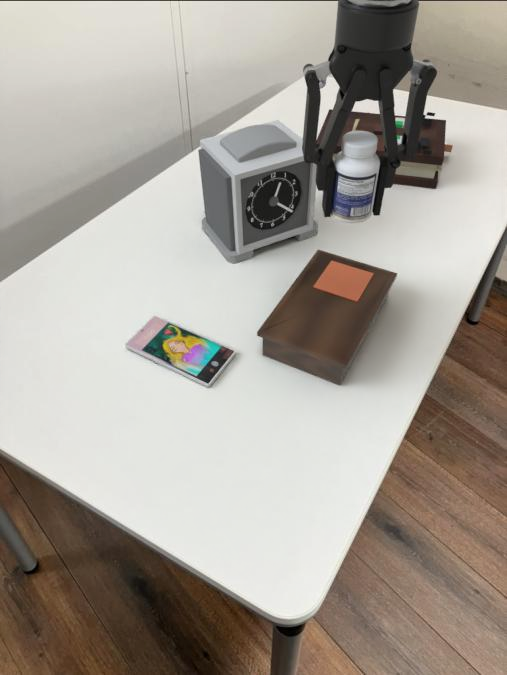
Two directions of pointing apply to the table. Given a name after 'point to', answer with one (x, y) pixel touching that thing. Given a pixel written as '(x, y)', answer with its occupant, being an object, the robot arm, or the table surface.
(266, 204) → the alarm clock
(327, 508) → the table surface
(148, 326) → the smartphone
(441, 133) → the decorative book
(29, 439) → the table surface
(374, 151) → the pill bottle
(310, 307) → the wooden box
